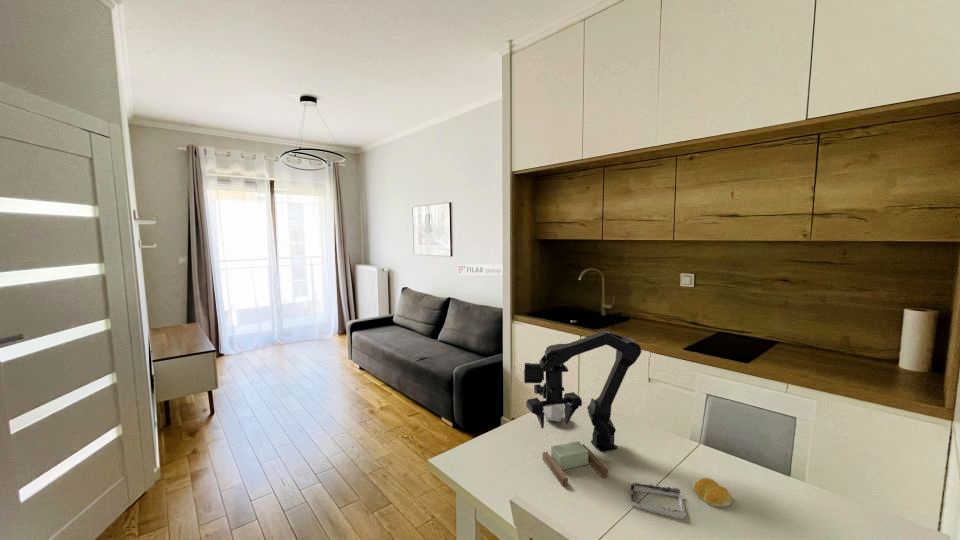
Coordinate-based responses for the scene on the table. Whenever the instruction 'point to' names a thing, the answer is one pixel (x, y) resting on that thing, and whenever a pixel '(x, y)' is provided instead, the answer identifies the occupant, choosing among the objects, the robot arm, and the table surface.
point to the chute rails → (560, 474)
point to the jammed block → (569, 455)
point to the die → (554, 412)
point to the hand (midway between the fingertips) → (554, 425)
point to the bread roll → (712, 492)
